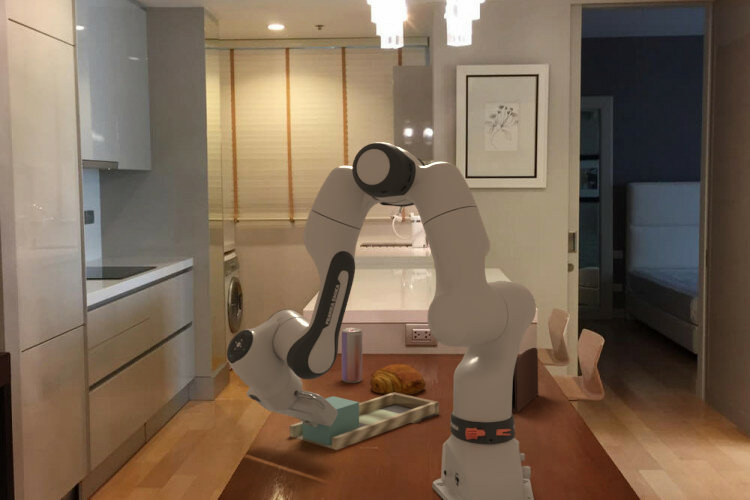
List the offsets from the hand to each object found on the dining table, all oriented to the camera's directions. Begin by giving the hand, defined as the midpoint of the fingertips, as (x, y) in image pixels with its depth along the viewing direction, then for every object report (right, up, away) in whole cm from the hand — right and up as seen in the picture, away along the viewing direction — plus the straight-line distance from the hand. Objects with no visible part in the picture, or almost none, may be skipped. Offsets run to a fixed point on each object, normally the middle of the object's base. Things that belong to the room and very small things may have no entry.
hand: (313, 423), depth 181 cm
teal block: (+4, -4, +5) cm, 7 cm away
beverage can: (+7, 0, +58) cm, 58 cm away
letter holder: (+49, -2, +36) cm, 61 cm away
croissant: (+20, -1, +48) cm, 52 cm away
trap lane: (+12, -4, +14) cm, 19 cm away
